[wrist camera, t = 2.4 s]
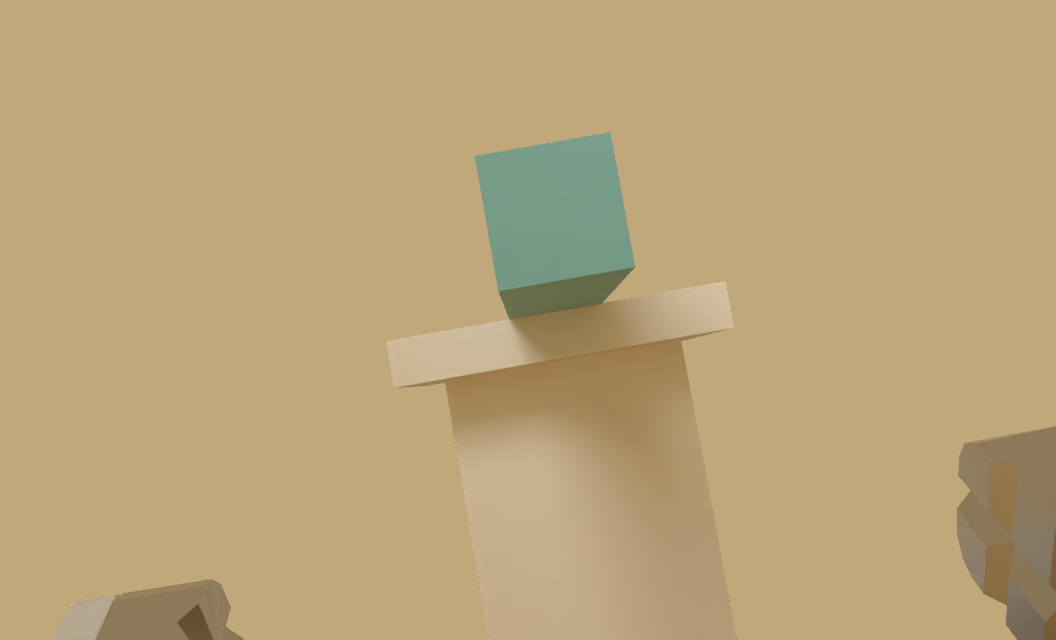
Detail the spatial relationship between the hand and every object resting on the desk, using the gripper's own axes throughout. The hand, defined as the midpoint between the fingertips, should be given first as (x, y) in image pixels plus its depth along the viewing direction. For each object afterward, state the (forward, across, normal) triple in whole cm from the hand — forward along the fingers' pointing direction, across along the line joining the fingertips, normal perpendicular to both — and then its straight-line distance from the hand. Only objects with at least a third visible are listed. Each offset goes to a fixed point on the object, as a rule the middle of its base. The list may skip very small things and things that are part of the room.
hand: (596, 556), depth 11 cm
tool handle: (+22, -1, +8) cm, 23 cm away
